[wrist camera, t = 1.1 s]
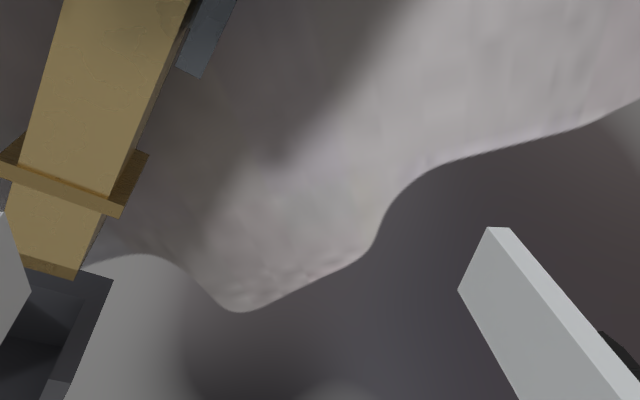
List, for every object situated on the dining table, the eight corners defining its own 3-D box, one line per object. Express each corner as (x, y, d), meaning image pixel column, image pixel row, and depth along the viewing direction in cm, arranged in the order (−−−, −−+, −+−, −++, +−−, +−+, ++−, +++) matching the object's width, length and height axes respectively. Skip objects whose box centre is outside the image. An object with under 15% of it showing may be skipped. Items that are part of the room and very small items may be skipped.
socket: (-22, 309, 38) (-105, 422, 29) (-3, 245, 34) (-92, 351, 26) (87, 335, 41) (42, 442, 33) (113, 279, 38) (71, 383, 29)
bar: (23, 194, 29) (-30, 254, 23) (213, -435, 16) (190, -625, 10) (117, 227, 31) (88, 287, 26) (349, -292, 18) (388, -387, 13)
